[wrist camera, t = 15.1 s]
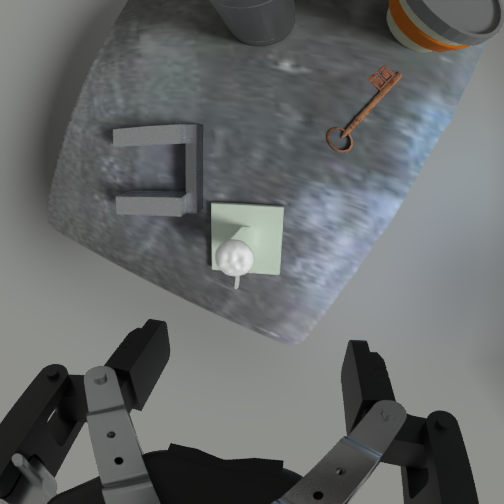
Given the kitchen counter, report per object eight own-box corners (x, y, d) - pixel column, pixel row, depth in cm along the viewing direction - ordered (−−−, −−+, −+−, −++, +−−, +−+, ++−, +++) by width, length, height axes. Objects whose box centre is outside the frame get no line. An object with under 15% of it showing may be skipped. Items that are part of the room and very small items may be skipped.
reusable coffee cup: (359, 27, 32) (386, -17, 19) (395, -24, 28) (427, -71, 14) (432, 81, 33) (487, 63, 20) (463, 27, 29) (515, 0, 15)
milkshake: (233, 258, 46) (217, 291, 37) (226, 223, 44) (207, 248, 35) (264, 255, 45) (255, 287, 36) (258, 219, 43) (247, 243, 34)
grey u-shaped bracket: (130, 128, 42) (113, 129, 37) (203, 124, 41) (191, 123, 36) (133, 205, 46) (116, 214, 42) (203, 208, 45) (192, 217, 40)
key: (378, 56, 34) (310, 129, 40) (379, 54, 33) (310, 128, 39) (409, 84, 35) (343, 158, 40) (411, 83, 34) (343, 157, 39)
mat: (213, 201, 44) (211, 203, 43) (283, 205, 43) (283, 207, 42) (213, 266, 48) (212, 269, 47) (279, 272, 47) (279, 275, 46)
